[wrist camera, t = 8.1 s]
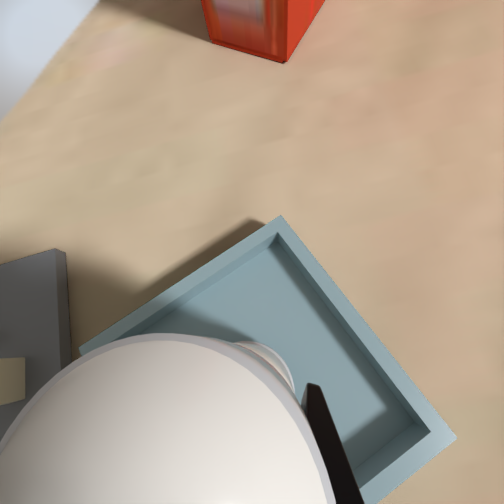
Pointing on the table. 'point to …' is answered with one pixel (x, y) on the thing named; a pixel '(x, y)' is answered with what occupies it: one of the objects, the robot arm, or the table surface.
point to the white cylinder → (165, 429)
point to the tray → (304, 348)
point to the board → (31, 329)
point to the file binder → (260, 25)
